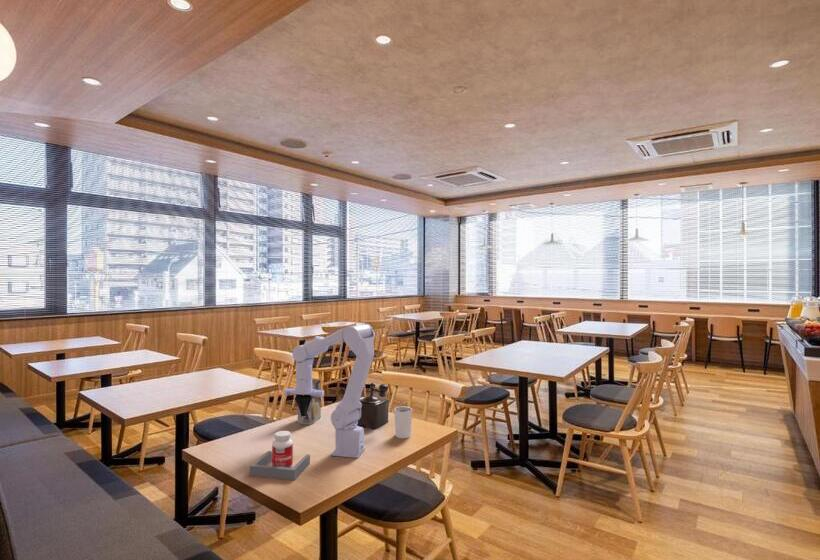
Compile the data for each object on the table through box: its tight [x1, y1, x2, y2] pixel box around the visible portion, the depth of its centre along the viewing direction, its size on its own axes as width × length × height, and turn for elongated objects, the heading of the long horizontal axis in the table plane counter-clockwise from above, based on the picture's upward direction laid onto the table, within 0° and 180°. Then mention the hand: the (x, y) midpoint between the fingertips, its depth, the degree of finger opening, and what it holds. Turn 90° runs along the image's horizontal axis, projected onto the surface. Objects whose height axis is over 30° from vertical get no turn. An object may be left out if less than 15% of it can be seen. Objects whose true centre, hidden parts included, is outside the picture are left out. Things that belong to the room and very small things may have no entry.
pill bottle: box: [271, 430, 294, 468], centre depth 136 cm, size 6×6×11 cm
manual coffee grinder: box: [357, 382, 390, 430], centre depth 176 cm, size 16×11×18 cm
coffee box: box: [297, 379, 322, 426], centre depth 180 cm, size 9×6×16 cm
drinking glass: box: [393, 405, 413, 439], centre depth 165 cm, size 7×7×10 cm
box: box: [249, 450, 311, 481], centre depth 136 cm, size 14×11×3 cm
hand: (303, 415), depth 158 cm, fingers closed
